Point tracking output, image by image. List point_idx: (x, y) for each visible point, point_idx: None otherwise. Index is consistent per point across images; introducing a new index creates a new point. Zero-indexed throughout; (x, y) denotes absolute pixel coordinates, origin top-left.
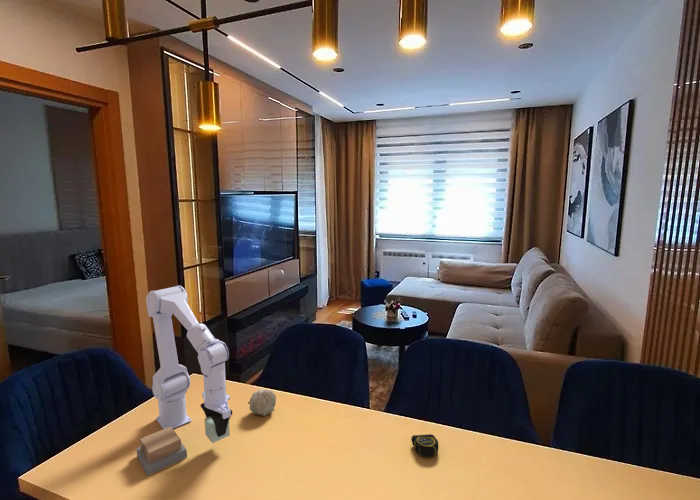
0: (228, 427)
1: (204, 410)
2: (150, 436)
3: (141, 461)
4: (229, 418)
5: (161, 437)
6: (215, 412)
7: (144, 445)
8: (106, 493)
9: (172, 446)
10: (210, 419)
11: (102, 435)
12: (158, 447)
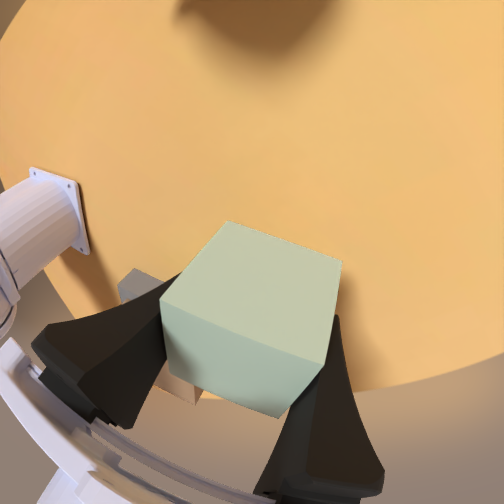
0: (332, 309)
1: (138, 411)
2: None
3: None
4: (365, 433)
5: None
6: (153, 340)
7: (158, 386)
8: (217, 397)
9: None
10: (202, 378)
11: (65, 299)
12: (188, 393)
